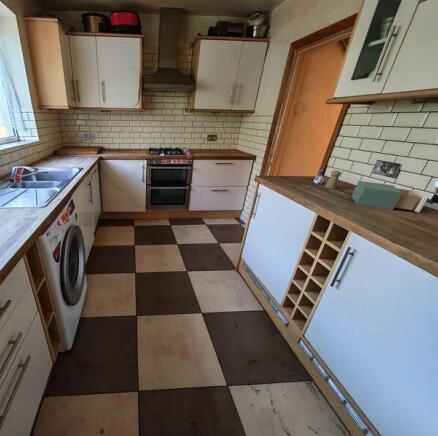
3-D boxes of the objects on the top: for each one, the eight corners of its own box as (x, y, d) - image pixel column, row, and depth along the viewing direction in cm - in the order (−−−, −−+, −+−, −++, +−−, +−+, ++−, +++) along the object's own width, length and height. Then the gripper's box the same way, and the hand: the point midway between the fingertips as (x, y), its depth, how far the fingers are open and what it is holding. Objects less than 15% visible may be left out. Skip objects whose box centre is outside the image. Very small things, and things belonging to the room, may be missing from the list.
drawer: (419, 205, 120) (428, 191, 117) (431, 214, 110) (440, 199, 107) (376, 198, 128) (382, 185, 125) (382, 206, 118) (390, 192, 115)
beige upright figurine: (337, 189, 147) (344, 172, 142) (326, 187, 149) (332, 171, 144) (334, 186, 152) (341, 170, 147) (324, 185, 154) (330, 169, 149)
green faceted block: (384, 201, 128) (392, 185, 123) (392, 210, 116) (402, 192, 112) (351, 196, 134) (358, 180, 130) (356, 204, 123) (364, 187, 119)
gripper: (480, 170, 97) (453, 209, 105) (461, 164, 109) (438, 199, 117) (454, 167, 101) (430, 205, 109) (438, 162, 112) (418, 196, 120)
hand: (434, 202), depth 113 cm, fingers closed
